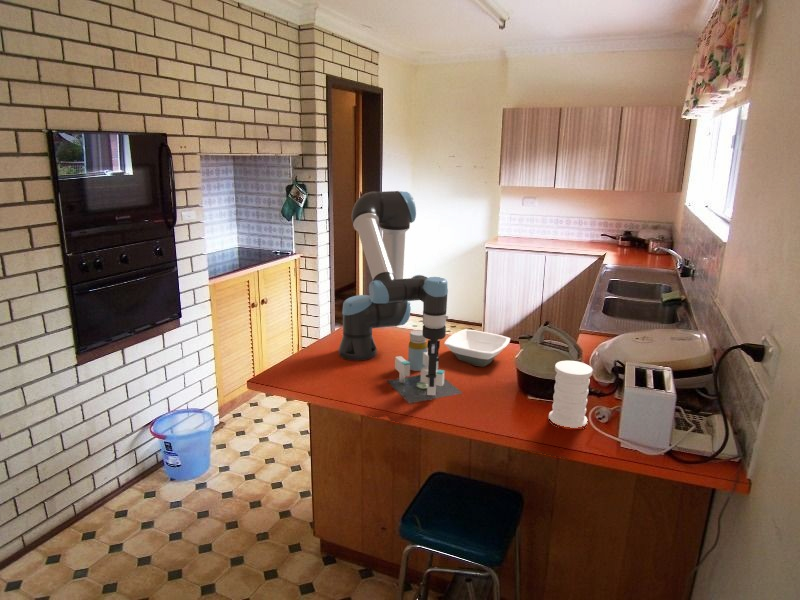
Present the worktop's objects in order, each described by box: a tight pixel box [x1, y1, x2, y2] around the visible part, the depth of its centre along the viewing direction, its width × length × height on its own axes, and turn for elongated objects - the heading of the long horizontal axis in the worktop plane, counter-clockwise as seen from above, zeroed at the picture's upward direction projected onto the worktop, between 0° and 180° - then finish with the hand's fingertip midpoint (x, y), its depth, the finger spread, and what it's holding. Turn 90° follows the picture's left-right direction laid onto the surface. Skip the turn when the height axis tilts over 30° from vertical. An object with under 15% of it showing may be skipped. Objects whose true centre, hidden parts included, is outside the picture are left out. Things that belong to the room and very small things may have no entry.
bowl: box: [443, 328, 511, 368], centre depth 217 cm, size 22×23×8 cm
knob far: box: [423, 352, 439, 370], centre depth 198 cm, size 8×2×8 cm, turn 25°
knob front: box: [420, 368, 446, 386], centre depth 185 cm, size 8×2×8 cm, turn 67°
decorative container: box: [548, 360, 594, 428], centre depth 170 cm, size 12×12×18 cm
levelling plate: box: [386, 374, 463, 404], centre depth 192 cm, size 19×20×2 cm
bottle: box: [407, 329, 428, 372], centre depth 206 cm, size 7×7×15 cm
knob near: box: [394, 355, 411, 383], centre depth 193 cm, size 8×2×8 cm, turn 25°
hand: (432, 387), depth 186 cm, fingers open, 11 cm apart
